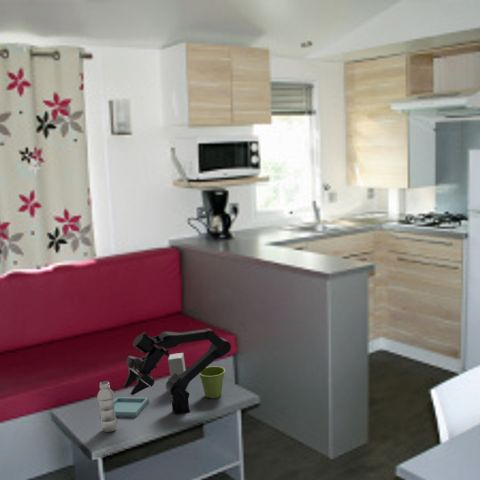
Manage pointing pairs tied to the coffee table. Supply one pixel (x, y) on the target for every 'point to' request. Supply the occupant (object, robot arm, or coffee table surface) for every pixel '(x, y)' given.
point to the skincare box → (176, 364)
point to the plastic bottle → (107, 408)
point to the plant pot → (212, 381)
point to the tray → (129, 406)
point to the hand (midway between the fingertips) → (128, 391)
